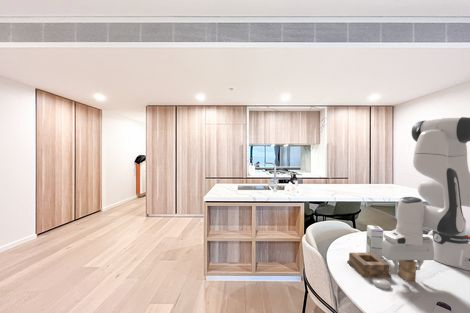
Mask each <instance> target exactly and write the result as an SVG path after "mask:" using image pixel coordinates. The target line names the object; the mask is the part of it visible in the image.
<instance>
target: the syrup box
mask: <svg viewBox="0 0 470 313" xmlns="http://www.w3.org/2000/svg"><path fill="white" fill-rule="evenodd" d="M383 241H384V229H383V228H382V227H380V226H379V225H369V224H367V226H366V245H365V246H366V248H365V249H366V250H365V253H373V254H375V255H376V256H378V257H379V258H380V259H383V258H384V257H383V255H382V244H383Z"/></svg>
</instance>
